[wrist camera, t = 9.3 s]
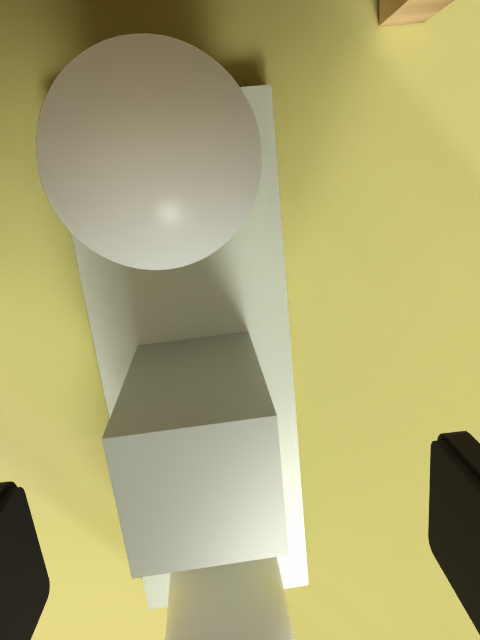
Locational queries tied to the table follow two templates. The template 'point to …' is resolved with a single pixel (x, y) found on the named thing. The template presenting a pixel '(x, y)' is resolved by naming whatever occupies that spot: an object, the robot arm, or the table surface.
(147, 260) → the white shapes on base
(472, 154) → the table surface
